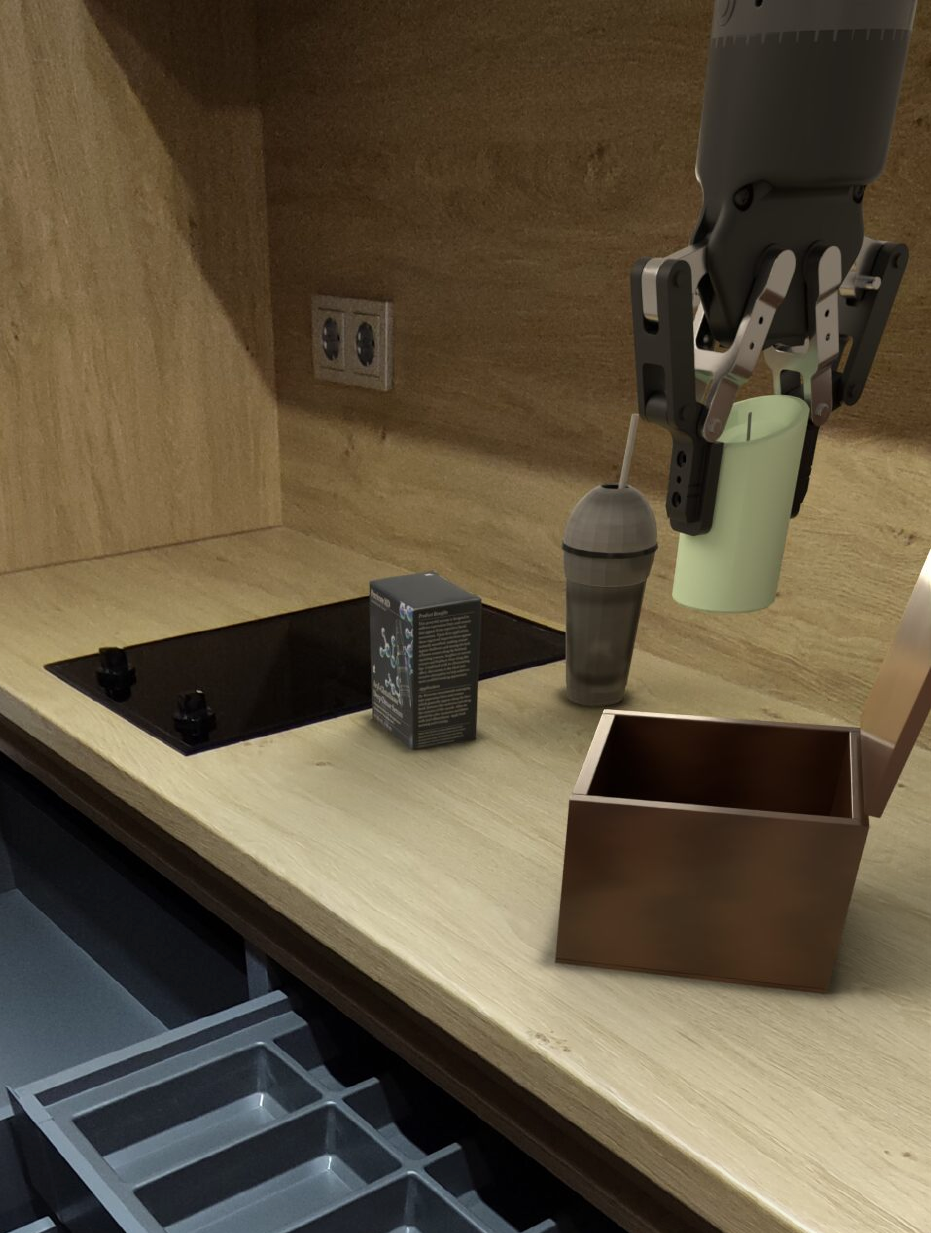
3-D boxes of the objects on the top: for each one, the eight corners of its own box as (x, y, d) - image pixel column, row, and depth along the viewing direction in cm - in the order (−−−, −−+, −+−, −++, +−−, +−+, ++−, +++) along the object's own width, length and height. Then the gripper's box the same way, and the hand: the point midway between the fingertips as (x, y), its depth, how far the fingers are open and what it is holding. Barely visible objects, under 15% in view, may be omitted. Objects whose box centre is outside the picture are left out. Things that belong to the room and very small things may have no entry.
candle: (726, 621, 59) (759, 414, 53) (650, 598, 62) (673, 401, 56) (796, 601, 61) (835, 401, 55) (719, 580, 64) (749, 389, 58)
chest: (553, 971, 69) (569, 799, 63) (587, 866, 79) (604, 708, 73) (824, 1002, 66) (869, 826, 60) (825, 890, 76) (864, 727, 70)
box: (370, 725, 99) (367, 578, 92) (434, 713, 100) (436, 569, 93) (411, 758, 93) (411, 606, 86) (478, 746, 95) (484, 595, 88)
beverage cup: (588, 682, 105) (614, 400, 92) (657, 702, 101) (695, 410, 88) (531, 703, 102) (549, 413, 88) (600, 725, 98) (630, 424, 84)
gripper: (735, 16, 43) (667, 564, 54) (1019, 18, 48) (901, 519, 59) (601, 30, 48) (565, 530, 59) (871, 31, 53) (789, 491, 64)
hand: (734, 522), depth 59 cm, fingers closed on candle, 5 cm apart
